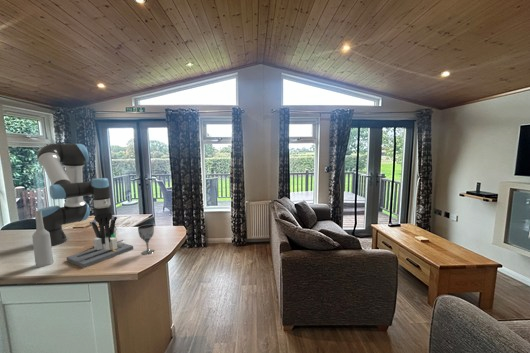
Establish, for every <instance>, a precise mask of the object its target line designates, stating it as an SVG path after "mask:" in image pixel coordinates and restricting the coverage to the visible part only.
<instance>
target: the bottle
mask: <svg viewBox="0 0 530 353" xmlns="http://www.w3.org/2000/svg"><path fill="white" fill-rule="evenodd" d="M34 213H35V216H36V219H35V224H36V225H35V226H36V231H34V233H33V234H32V237H31V238H32V245H33V253H34V263H35V268H44V267H48V266H50V265H52V264H54V256H53V250H52V247H53V246H51V240H50V233H49V232H48V231H47V230H45V229H44V224H43V218H42V211H38V210H35V211H34Z"/></svg>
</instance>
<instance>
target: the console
mask: <svg viewBox="0 0 530 353" xmlns="http://www.w3.org/2000/svg"><path fill="white" fill-rule="evenodd" d="M102 247H103V249H100V250H96V249H94V248H91V249H88V250H85V251H81V252H79V253H75V254H73V255H70V256H66V262H68V263H71V264H73V265H76V266H78V267H80V268H83V269H85V268H88V267H90V266H94V265H95V264H99V263H101V262H104V261H107V260H109V259H111V258H115V257H117V256H120V255H123V254H126V253H128V252H130V251H132V250H134V246H133V245H130V244H127V243H125V240H124V239H122V240H121V239H120V240H118V241H117V249H115V250H111V249H107V250H106V249H104V246H102Z"/></svg>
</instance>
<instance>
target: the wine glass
mask: <svg viewBox="0 0 530 353" xmlns="http://www.w3.org/2000/svg"><path fill="white" fill-rule="evenodd" d="M154 233H155V225H154V224H152V223H151V224H150V223H148V224H143V225H140V226H138V227H137V234H138V236H139V238H140V239H142V240H143V241H144V242H145V243H146V244H145V245H146V250H144V251H142V252H140V255H142V256H146V255H147V254H148V255H151V253H152V254H154V253H155V252H156V250H155V249H150V248H149V244H150V243H149V242H150V241H151V239H152V238H153V236H154ZM154 251H155V252H154ZM153 252H154V253H153Z"/></svg>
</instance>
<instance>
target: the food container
mask: <svg viewBox="0 0 530 353" xmlns="http://www.w3.org/2000/svg"><path fill="white" fill-rule="evenodd" d="M117 230H118V228H117V227H116V225H115V227H114V234H113V235H111V237H110V238H112V237H114V238H117V232H116V231H117ZM99 232H100V230H99ZM105 237H106V235H105ZM102 246H103V244H102Z"/></svg>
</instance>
